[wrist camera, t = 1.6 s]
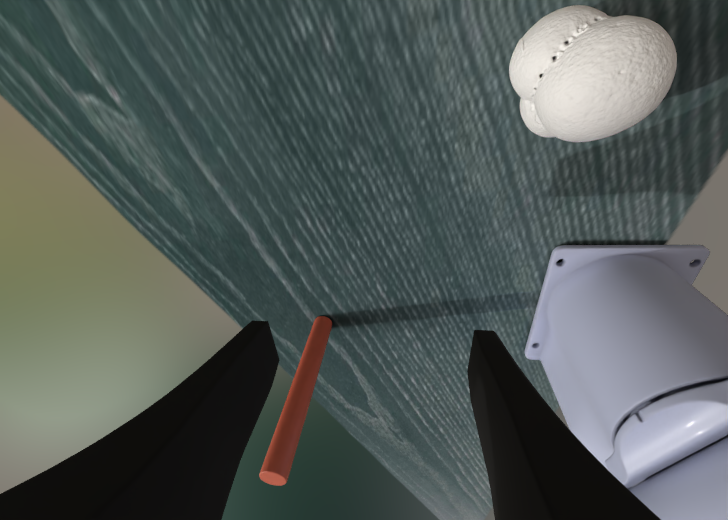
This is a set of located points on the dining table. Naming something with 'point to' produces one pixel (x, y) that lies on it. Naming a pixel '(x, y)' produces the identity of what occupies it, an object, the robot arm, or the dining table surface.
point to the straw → (296, 406)
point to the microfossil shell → (590, 73)
